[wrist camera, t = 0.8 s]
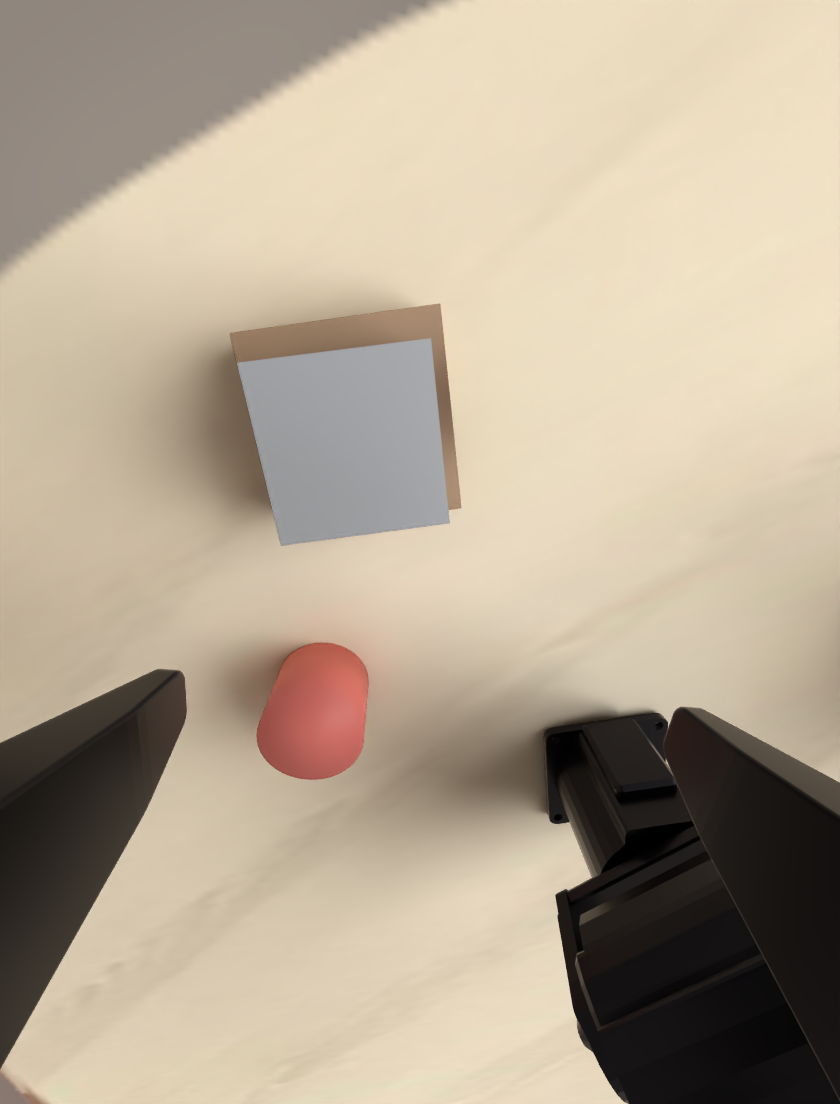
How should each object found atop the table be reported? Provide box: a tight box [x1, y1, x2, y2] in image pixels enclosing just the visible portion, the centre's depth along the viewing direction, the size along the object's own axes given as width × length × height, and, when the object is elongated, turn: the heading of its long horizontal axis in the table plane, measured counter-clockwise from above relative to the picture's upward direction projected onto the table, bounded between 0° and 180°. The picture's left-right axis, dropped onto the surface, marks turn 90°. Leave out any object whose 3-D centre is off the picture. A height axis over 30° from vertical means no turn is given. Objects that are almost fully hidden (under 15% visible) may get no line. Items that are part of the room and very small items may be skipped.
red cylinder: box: [257, 643, 368, 780], centre depth 21 cm, size 4×4×4 cm
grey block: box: [237, 338, 450, 546], centre depth 15 cm, size 5×5×4 cm
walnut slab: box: [229, 304, 461, 510], centre depth 18 cm, size 7×7×3 cm
